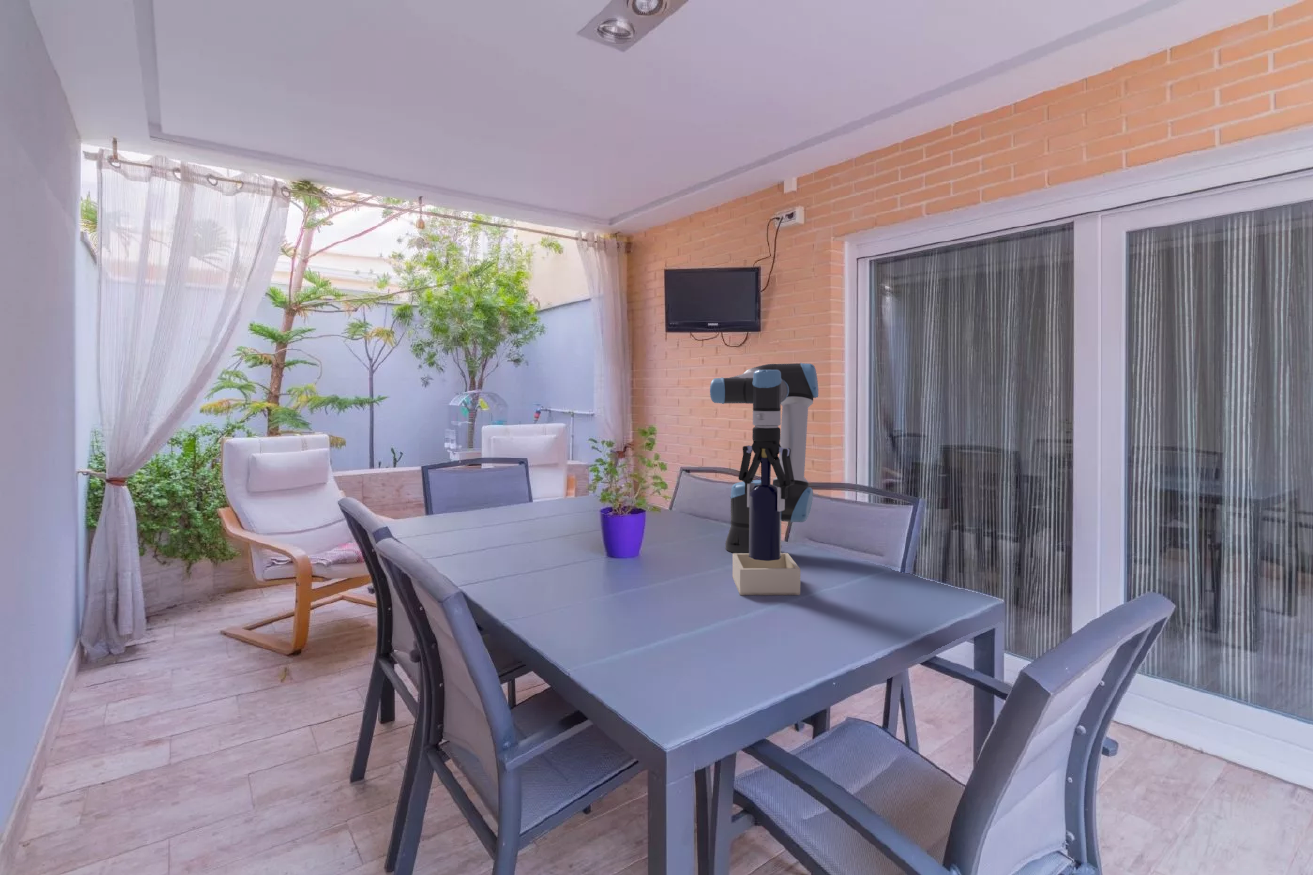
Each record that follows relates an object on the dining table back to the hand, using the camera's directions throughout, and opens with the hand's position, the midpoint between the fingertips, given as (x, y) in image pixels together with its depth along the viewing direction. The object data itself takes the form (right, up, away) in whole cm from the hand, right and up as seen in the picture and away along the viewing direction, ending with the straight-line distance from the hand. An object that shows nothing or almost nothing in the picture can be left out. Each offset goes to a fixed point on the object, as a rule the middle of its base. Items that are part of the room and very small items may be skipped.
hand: (765, 508), depth 174 cm
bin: (0, -22, +2) cm, 22 cm away
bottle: (0, -14, +1) cm, 14 cm away
